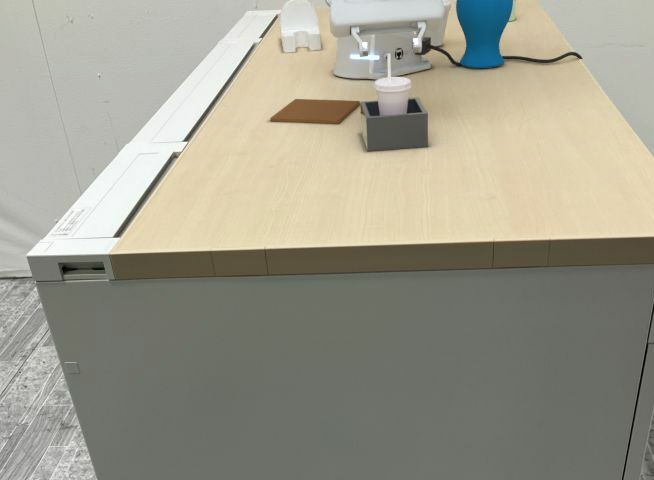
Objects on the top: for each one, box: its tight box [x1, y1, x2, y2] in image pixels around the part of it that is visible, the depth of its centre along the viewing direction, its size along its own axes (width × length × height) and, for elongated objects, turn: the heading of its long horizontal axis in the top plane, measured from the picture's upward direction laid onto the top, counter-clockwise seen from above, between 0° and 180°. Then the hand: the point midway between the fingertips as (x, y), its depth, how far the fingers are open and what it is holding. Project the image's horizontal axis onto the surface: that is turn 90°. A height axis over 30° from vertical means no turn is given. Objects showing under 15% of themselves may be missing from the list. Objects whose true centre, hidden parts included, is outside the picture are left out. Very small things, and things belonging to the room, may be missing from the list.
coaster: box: [270, 98, 361, 125], centre depth 164 cm, size 14×14×1 cm
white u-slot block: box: [279, 0, 322, 53], centre depth 212 cm, size 10×18×10 cm, turn 6°
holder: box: [359, 96, 429, 152], centre depth 146 cm, size 11×11×6 cm
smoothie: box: [373, 53, 412, 116], centre depth 143 cm, size 6×6×14 cm
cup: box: [415, 0, 452, 48], centre depth 203 cm, size 10×10×9 cm
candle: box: [508, 0, 517, 22], centre depth 224 cm, size 5×5×8 cm
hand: (390, 52), depth 144 cm, fingers open, 8 cm apart
